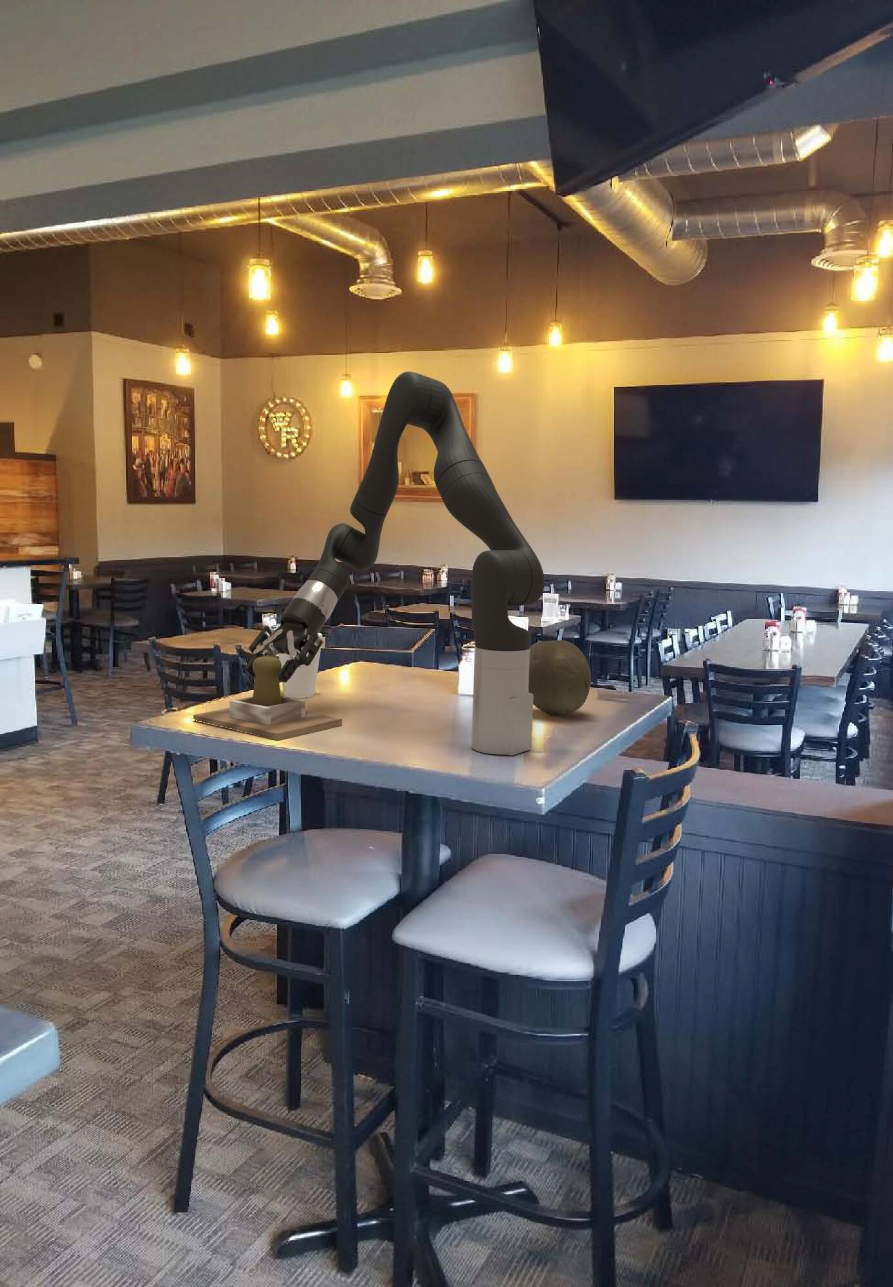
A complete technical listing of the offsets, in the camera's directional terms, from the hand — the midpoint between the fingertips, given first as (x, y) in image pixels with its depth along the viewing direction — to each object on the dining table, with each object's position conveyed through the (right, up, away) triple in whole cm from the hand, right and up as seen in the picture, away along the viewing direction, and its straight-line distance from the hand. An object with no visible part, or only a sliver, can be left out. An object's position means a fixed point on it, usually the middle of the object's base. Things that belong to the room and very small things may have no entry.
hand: (264, 676), depth 174 cm
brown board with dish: (0, -9, +2) cm, 9 cm away
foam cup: (+2, -5, +29) cm, 30 cm away
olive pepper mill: (0, -8, +2) cm, 8 cm away
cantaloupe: (+54, -8, +16) cm, 57 cm away
